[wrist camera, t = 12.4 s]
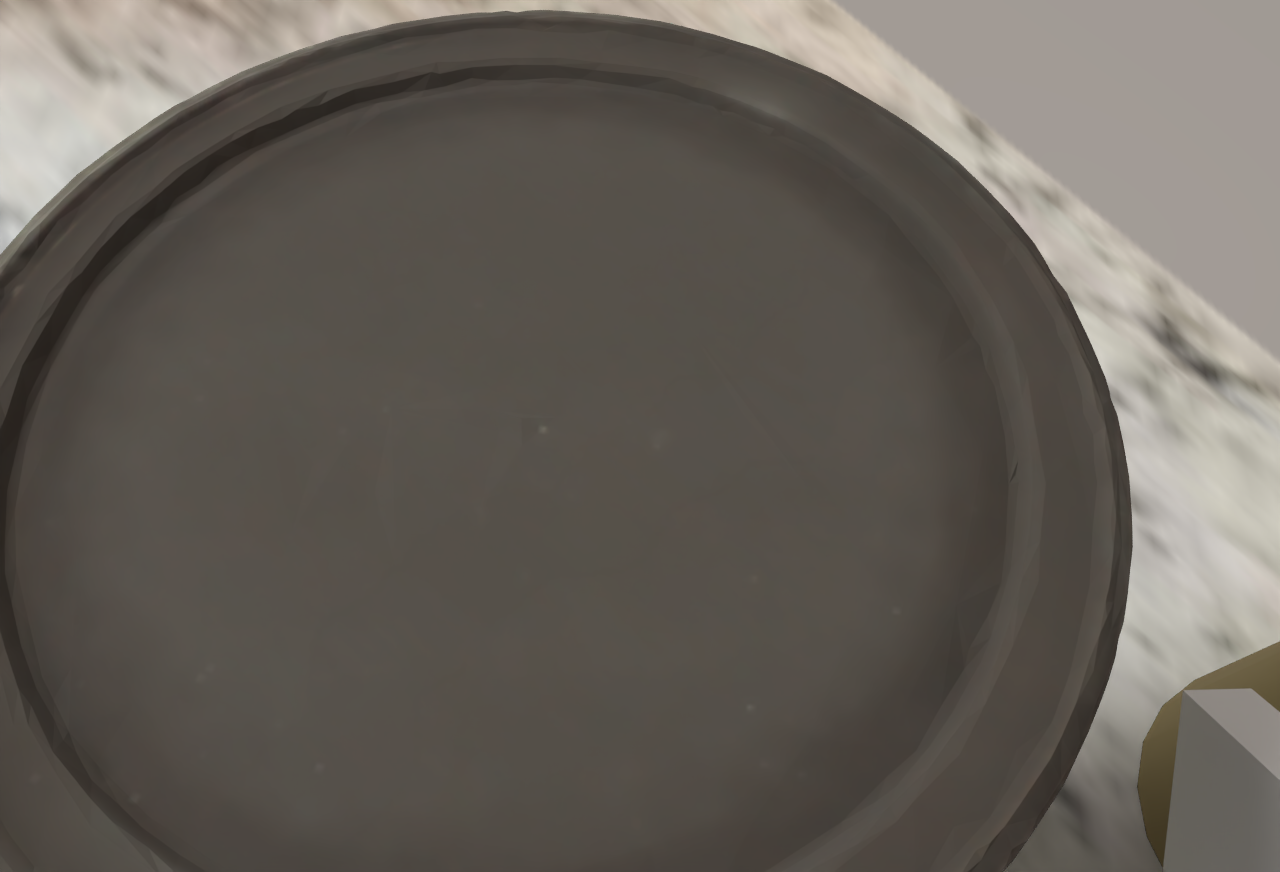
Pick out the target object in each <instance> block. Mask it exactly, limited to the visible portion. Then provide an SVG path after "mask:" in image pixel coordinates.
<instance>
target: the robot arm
mask: <svg viewBox="0 0 1280 872" xmlns="http://www.w3.org/2000/svg"><path fill="white" fill-rule="evenodd" d="M1163 872H1280V712H1279V711H1278V710H1277V709H1275V708H1274V707H1273V706H1272V705H1271V704H1269V703H1268V702H1267V701H1266V700H1265V699H1263V698H1262V697H1261V696H1260V695H1259V694H1257V693H1256V692H1255V691H1254V690H1253V689H1251V688H1248V689H1209V690H1183V694H1182V703H1181V712H1180V721H1179V730H1178V739H1177V748H1176V757H1175V765H1174V774H1173V783H1172V792H1171V801H1170V810H1169V819H1168V828H1167V837H1166V846H1165V855H1164V864H1163Z"/></svg>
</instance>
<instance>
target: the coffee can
mask: <svg viewBox="0 0 1280 872" xmlns="http://www.w3.org/2000/svg"><path fill="white" fill-rule="evenodd" d="M1132 547H1133V545H1132V512H1131V498H1130V484H1129V474H1128V468H1127V462H1126V456H1125V450H1124V445H1123V440H1122V435H1121V431H1120V426H1119V421H1118V417H1117V413H1116V411H1115V408H1114V406H1113V403H1112V401H1111V399H1110V392H1109V389H1108V385H1107V382H1106V379H1105V376H1104V374H1103V371H1102V369H1101V366H1100V364H1099V362H1098V359H1097V357H1096V355H1095V352H1094V350H1093V347H1092V345H1091V343H1090V341H1089V339H1088V336H1087V334H1086V332H1085V330H1084V328H1083V326H1082V324H1081V322H1080V320H1079V318H1078V315H1077V313H1076V311H1075V309H1074V307H1073V305H1072V303H1071V301H1070V299H1069V297H1068V294H1067V292H1066V291H1065V290H1064V289H1063V287H1062V286H1061V285H1060V284H1059V282H1058V281H1057V280H1056V278H1055V277H1054V276H1053V274H1052V273H1051V271H1050V269H1049V267H1048V265H1047V264H1046V262H1045V260H1044V258H1043V257H1042V255H1041V253H1040V252H1039V250H1038V249H1037V247H1036V245H1035V244H1034V243H1033V241H1032V240H1031V239H1030V238H1029V236H1028V235H1027V234H1026V233H1025V231H1024V230H1023V229H1022V228H1021V227H1020V225H1019V224H1018V223H1017V222H1016V220H1015V219H1014V218H1013V217H1012V216H1011V215H1010V213H1009V212H1008V211H1007V210H1006V209H1005V208H1004V207H1003V206H1002V205H1001V204H1000V203H999V202H998V201H997V200H996V199H995V198H994V197H993V196H992V194H991V193H990V192H989V191H988V190H987V189H986V188H985V187H984V186H983V185H982V184H981V183H980V182H979V181H978V180H977V179H976V178H975V177H974V176H972V175H971V174H970V173H969V172H968V171H967V170H966V169H965V168H964V167H963V166H962V165H961V164H960V163H959V162H958V161H957V160H956V159H954V158H953V157H952V156H951V155H949V154H948V153H947V152H945V151H944V150H943V149H942V148H940V147H939V146H938V145H937V144H935V143H934V142H933V141H931V140H930V139H929V138H927V137H926V136H925V135H923V134H922V133H921V132H919V131H918V130H917V129H915V128H914V127H912V126H911V125H910V124H908V123H907V122H905V121H903V120H902V119H900V118H899V117H897V116H896V115H894V114H892V113H891V112H889V111H888V110H886V109H884V108H883V107H881V106H879V105H878V104H876V103H874V102H873V101H871V100H869V99H868V98H866V97H864V96H863V95H861V94H859V93H857V92H856V91H854V90H852V89H850V88H848V87H847V86H845V85H843V84H841V83H839V82H838V81H836V80H834V79H832V78H831V77H829V76H827V75H825V74H822V73H820V72H817V71H815V70H813V69H810V68H808V67H805V66H803V65H800V64H798V63H795V62H793V61H790V60H788V59H785V58H783V57H780V56H778V55H775V54H773V53H770V52H767V51H765V50H762V49H759V48H757V47H753V46H750V45H747V44H743V43H740V42H736V41H733V40H730V39H726V38H723V37H720V36H717V35H714V34H710V33H706V32H702V31H698V30H694V29H691V28H687V27H683V26H678V25H674V24H670V23H665V22H661V21H654V20H647V19H640V18H633V17H626V16H619V15H609V14H596V13H583V12H570V11H552V10H532V11H524V12H517V13H516V12H510V11H502V12H493V13H470V14H460V15H451V16H442V17H436V18H430V19H423V20H416V21H410V22H403V23H396V24H391V25H387V26H384V27H380V28H376V29H372V30H368V31H363V32H359V33H354V34H350V35H345V36H341V37H338V38H335V39H331V40H328V41H325V42H322V43H319V44H316V45H313V46H310V47H306V48H303V49H300V50H298V51H295V52H292V53H289V54H286V55H283V56H281V57H278V58H275V59H273V60H270V61H268V62H265V63H263V64H260V65H258V66H255V67H253V68H250V69H248V70H245V71H243V72H240V73H238V74H236V75H234V76H232V77H230V78H228V79H226V80H224V81H222V82H220V83H218V84H216V85H214V86H212V87H210V88H208V89H206V90H204V91H202V92H201V93H199V94H197V95H195V96H193V97H191V98H190V99H188V100H186V101H184V102H182V103H179V104H177V105H175V106H174V107H172V108H171V109H169V110H167V111H166V112H164V113H163V114H161V115H159V116H158V117H156V118H155V119H153V120H152V121H150V122H149V123H148V124H146V125H145V126H143V127H142V128H141V129H139V130H138V131H136V132H135V133H133V134H132V135H130V136H129V137H127V138H126V139H125V140H123V141H122V142H120V143H119V144H117V145H116V146H115V147H113V148H112V149H111V150H109V151H108V152H107V153H105V154H104V155H103V156H101V157H100V158H99V159H97V160H96V161H95V162H94V163H92V164H91V165H90V166H88V167H87V168H86V169H84V170H83V171H82V172H80V173H79V174H77V175H76V176H75V177H74V178H73V179H72V180H71V181H70V182H69V183H68V184H67V185H66V186H65V187H64V188H63V189H62V190H61V191H60V192H59V193H58V194H57V195H56V196H55V197H54V198H53V199H52V200H51V201H50V202H48V203H47V204H46V205H45V206H44V207H43V208H42V209H41V210H40V211H39V212H38V213H37V214H36V215H35V216H34V217H33V218H32V219H31V220H30V222H29V223H28V224H27V225H26V226H25V227H24V228H23V230H22V231H21V232H20V233H19V234H18V235H17V236H16V238H15V239H14V240H13V241H12V242H11V243H10V244H9V246H8V247H7V248H6V249H5V250H4V251H3V252H2V254H1V255H0V872H1003V871H1004V870H1005V869H1006V868H1007V867H1008V866H1009V864H1010V863H1011V862H1012V861H1013V860H1014V858H1015V857H1016V856H1017V854H1018V853H1019V851H1020V850H1021V848H1022V847H1023V846H1024V844H1025V843H1026V841H1027V840H1028V839H1029V837H1030V836H1031V834H1032V833H1033V831H1034V830H1035V828H1036V827H1037V825H1038V823H1039V822H1040V820H1041V819H1042V817H1043V816H1044V814H1045V813H1046V811H1047V810H1048V808H1049V807H1050V805H1051V804H1052V802H1053V800H1054V799H1055V797H1056V796H1057V794H1058V793H1059V791H1060V790H1061V788H1062V787H1063V785H1064V783H1065V781H1066V779H1067V777H1068V774H1069V772H1070V770H1071V768H1072V766H1073V764H1074V762H1075V759H1076V757H1077V755H1078V753H1079V751H1080V749H1081V747H1082V744H1083V742H1084V740H1085V738H1086V736H1087V734H1088V732H1089V729H1090V727H1091V724H1092V722H1093V719H1094V717H1095V714H1096V712H1097V709H1098V707H1099V704H1100V702H1101V699H1102V696H1103V694H1104V691H1105V688H1106V685H1107V683H1108V680H1109V676H1110V673H1111V670H1112V666H1113V663H1114V660H1115V656H1116V650H1117V644H1118V638H1119V635H1120V632H1121V629H1122V625H1123V622H1124V615H1125V609H1126V602H1127V594H1128V585H1129V575H1130V566H1131V556H1132Z"/></svg>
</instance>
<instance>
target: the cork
mask: <svg viewBox="0 0 1280 872" xmlns="http://www.w3.org/2000/svg"><path fill="white" fill-rule="evenodd" d="M1248 688H1251V689H1253V690H1254V691H1255V692H1256V693H1257V694H1259V695H1260V696H1261V697H1262V698H1263V699H1265V700H1266V701H1267V702H1268V703H1269V704H1271V705H1272V706H1273V707H1274V708H1275V709H1277V710H1278V711H1279V712H1280V642H1278V643H1275V644H1273V645H1271V646H1269V647H1267V648H1264V649H1262V650H1260V651H1258V652H1256V653H1253V654H1251V655H1249V656H1247V657H1245V658H1242V659H1240V660H1238V661H1236V662H1234V663H1231V664H1229V665H1227V666H1225V667H1223V668H1220V669H1218V670H1216V671H1214V672H1212V673H1209V674H1207V675H1205V676H1203V677H1201V678H1198V679H1196V680H1194V681H1193V682H1192V683H1190V684H1189V685H1188V686H1187V687H1185V688H1184V689H1183V690H1209V689H1248ZM1183 690H1182V691H1180V692H1179V693H1178V694H1177V695H1175V696H1174V697H1173V698H1172V699H1170V700H1169V701H1168V702H1167V703H1166V704H1164V705H1163V706H1162V708H1161V710H1160V712H1159V714H1158V715H1157V717H1156V719H1155V721H1154V723H1153V725H1152V727H1151V728H1150V730H1149V732H1148V734H1147V736H1146V738H1145V739H1144V741H1143V747H1142V755H1141V762H1140V770H1139V778H1138V786H1137V788H1138V793H1139V798H1140V803H1141V808H1142V814H1143V819H1144V824H1145V829H1146V834H1147V837H1148V839H1149V841H1150V843H1151V845H1152V847H1153V849H1154V851H1155V853H1156V855H1157V857H1158V859H1159V861H1160V863H1161V865H1162V867H1163V864H1164V855H1165V846H1166V837H1167V828H1168V819H1169V810H1170V801H1171V792H1172V783H1173V774H1174V765H1175V757H1176V748H1177V739H1178V730H1179V721H1180V712H1181V703H1182V694H1183Z"/></svg>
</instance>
